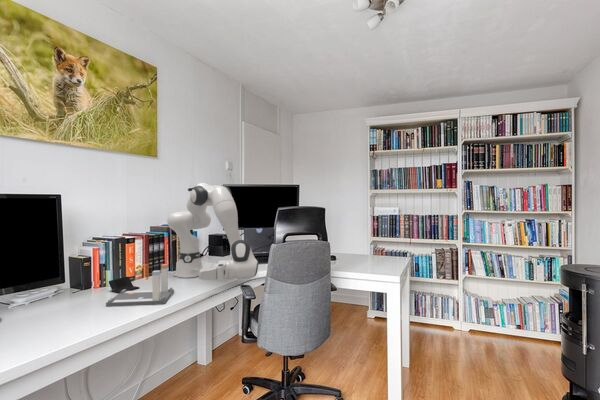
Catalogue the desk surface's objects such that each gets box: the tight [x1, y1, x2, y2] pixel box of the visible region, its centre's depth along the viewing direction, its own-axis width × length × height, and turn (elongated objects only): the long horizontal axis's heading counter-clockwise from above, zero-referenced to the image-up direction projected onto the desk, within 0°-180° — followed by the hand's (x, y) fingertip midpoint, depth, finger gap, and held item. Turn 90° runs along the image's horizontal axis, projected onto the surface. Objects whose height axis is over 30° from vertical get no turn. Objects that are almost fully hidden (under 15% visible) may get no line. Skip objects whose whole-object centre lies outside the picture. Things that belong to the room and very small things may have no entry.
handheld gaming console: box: [108, 276, 140, 295], centre depth 163 cm, size 12×7×10 cm
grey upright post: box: [160, 263, 169, 291], centre depth 157 cm, size 3×3×13 cm
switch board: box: [105, 287, 175, 308], centre depth 148 cm, size 18×24×2 cm
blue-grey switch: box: [151, 269, 161, 300], centre depth 143 cm, size 3×3×13 cm
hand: (191, 271), depth 145 cm, fingers closed
